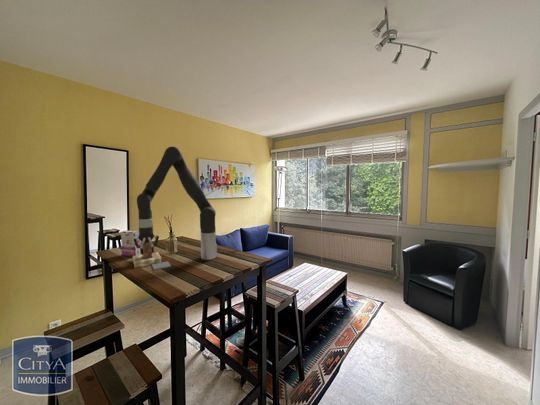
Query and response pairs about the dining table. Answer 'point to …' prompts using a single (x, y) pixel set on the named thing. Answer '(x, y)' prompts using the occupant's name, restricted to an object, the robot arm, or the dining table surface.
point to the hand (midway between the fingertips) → (147, 253)
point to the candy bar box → (130, 243)
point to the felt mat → (161, 265)
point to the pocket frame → (146, 260)
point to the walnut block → (147, 250)
